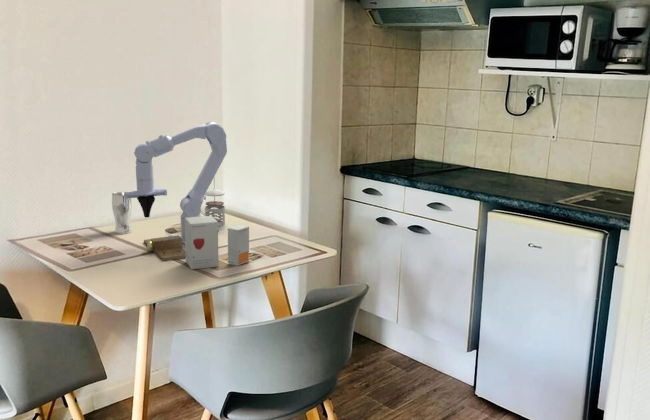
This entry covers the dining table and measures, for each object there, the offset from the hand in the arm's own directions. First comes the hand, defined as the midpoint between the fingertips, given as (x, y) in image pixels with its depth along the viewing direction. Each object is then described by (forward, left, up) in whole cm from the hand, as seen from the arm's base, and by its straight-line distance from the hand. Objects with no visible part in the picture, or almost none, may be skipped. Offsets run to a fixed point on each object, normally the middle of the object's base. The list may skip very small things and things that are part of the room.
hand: (146, 216), depth 210 cm
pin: (-3, +10, -10) cm, 14 cm away
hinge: (-4, +10, -10) cm, 15 cm away
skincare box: (-20, +35, -10) cm, 42 cm away
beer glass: (+4, -20, -10) cm, 23 cm away
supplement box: (-9, +31, -10) cm, 34 cm away
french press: (-29, -12, -10) cm, 33 cm away
